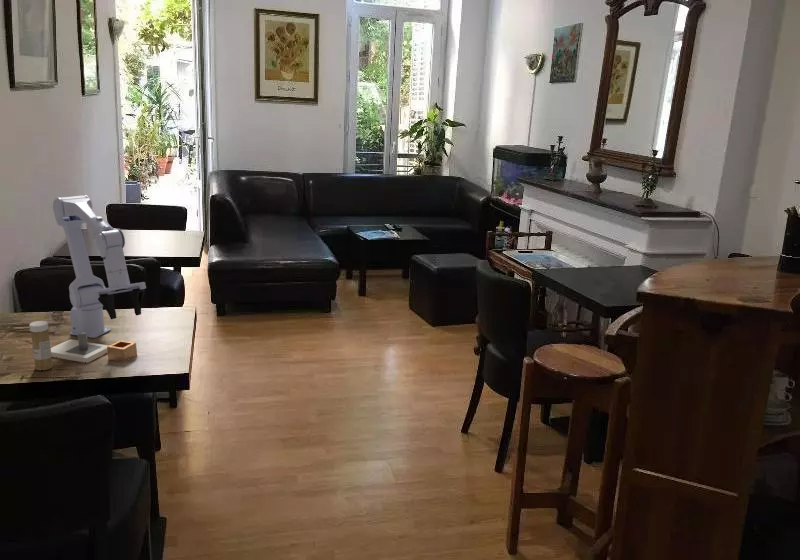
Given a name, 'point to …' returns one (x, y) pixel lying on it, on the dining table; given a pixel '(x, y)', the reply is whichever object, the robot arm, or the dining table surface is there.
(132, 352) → the small wooden box
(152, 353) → the dining table surface
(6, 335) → the dining table surface
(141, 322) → the dining table surface
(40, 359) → the sprinkles bottle
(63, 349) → the post stand
